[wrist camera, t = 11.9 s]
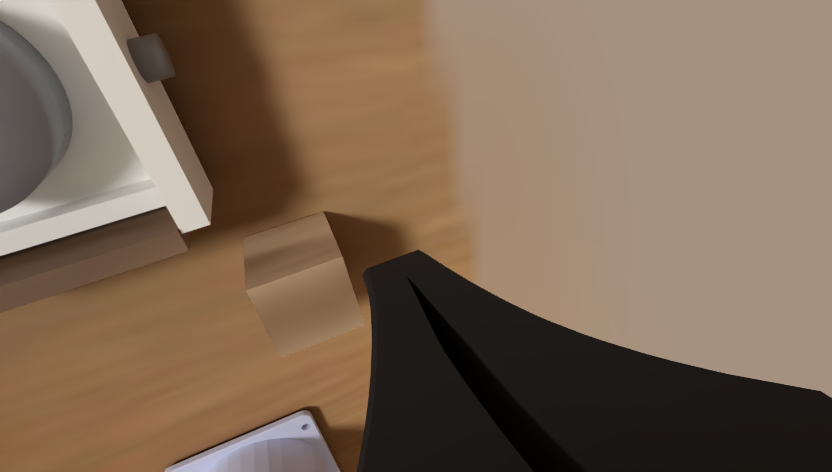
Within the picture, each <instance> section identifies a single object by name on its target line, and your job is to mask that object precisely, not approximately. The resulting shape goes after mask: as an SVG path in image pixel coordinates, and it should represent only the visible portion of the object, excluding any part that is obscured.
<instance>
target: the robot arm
mask: <svg viewBox="0 0 832 472" xmlns="http://www.w3.org/2000/svg"><path fill="white" fill-rule="evenodd" d="M363 278H364V281H365V285H366V288H367V291H368V294H369V299H370V308H371V324H372V356H371V378H370V389H369V399H368V407H367V415H366V423H365V429H364V435H363V441H362V447H361V452H360V458H359V464H358V469H357V472H832V398H831V397H829V396H827V395H826V394H824V393H823V392H821V391H816V390H811V389H806V388H800V387H795V386H789V385H784V384H778V383H773V382H767V381H762V380H757V379H751V378H746V377H740V376H735V375H729V374H725V373H721V372H716V371H712V370H707V369H703V368H699V367H695V366H691V365H687V364H682V363H678V362H674V361H670V360H666V359H663V358H659V357H655V356H652V355H647V354H644V353H641V352H637V351H634V350H631V349H628V348H624V347H621V346H618V345H615V344H611V343H608V342H605V341H602V340H599V339H596V338H593V337H590V336H587V335H584V334H581V333H579V332H576V331H574V330H571V329H568V328H566V327H563V326H561V325H558V324H556V323H553V322H550V321H548V320H546V319H543V318H541V317H538V316H536V315H534V314H532V313H530V312H528V311H526V310H523V309H521V308H519V307H517V306H515V305H513V304H511V303H509V302H507V301H505V300H503V299H501V298H499V297H497V296H495V295H494V294H492V293H490V292H488V291H486V290H485V289H483V288H481V287H479V286H477V285H476V284H474V283H472V282H470V281H468V280H467V279H465V278H463V277H462V276H460V275H458V274H457V273H455V272H453V271H452V270H450V269H449V268H447V267H445V266H444V265H442V264H441V263H439V262H438V261H436V260H434V259H433V258H431V257H430V256H428V255H427V254H425V253H424V252H422V251H420V250H417V251H414V252H411V253H408V254H406V255H403V256H400V257H398V258H395V259H392V260H389V261H387V262H384V263H381V264H378V265H376V266H373V267H370V268H368V269H366V270H365V272H364V273H363ZM165 472H341V471H340V469H339V467H338V465H337V463H336V461H335V460H334V458H333V456H332V454H331V452H330V450H329V448H328V446H327V444H326V442H325V440H324V438H323V436H322V434H321V432H320V430H319V428H318V426H317V424H316V422H315V420H314V418H313V416H312V414H311V413H310V412H309V411H307V410H303V411H299V412H297V413H295V414H292V415H290V416H288V417H285V418H283V419H281V420H278V421H276V422H273V423H271V424H269V425H266V426H264V427H262V428H259V429H257V430H255V431H252V432H250V433H248V434H245V435H243V436H240V437H238V438H236V439H233V440H231V441H229V442H226V443H224V444H222V445H219V446H217V447H215V448H212V449H210V450H207V451H205V452H203V453H200V454H198V455H196V456H193V457H191V458H189V459H186V460H184V461H182V462H179V463H177V464H174V465H172V466H170V467H168V468H167V469H166V470H165Z"/></svg>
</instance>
